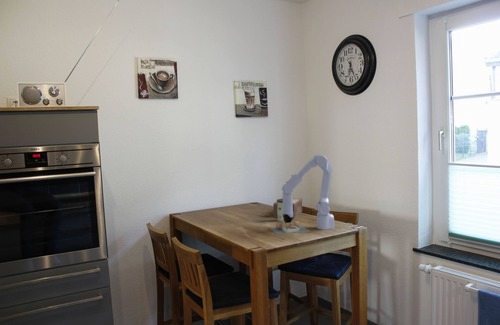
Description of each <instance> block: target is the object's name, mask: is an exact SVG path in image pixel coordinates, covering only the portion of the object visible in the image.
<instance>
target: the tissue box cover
mask: <svg viewBox="0 0 500 325" xmlns="http://www.w3.org/2000/svg"><path fill="white" fill-rule="evenodd" d="M281 199H283V197H282V198H281ZM292 200H293V220H294V219H296V218H297V217H298V216H299V215H300V214H301V213H303V197H300V198H299V197H292ZM272 207H273V218H275V219H278V218H277V201H275V202H273V206H272Z"/></svg>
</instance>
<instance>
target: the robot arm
mask: <svg viewBox="0 0 500 325" xmlns="http://www.w3.org/2000/svg"><path fill="white" fill-rule="evenodd" d="M317 166H319V168H320V169H321V170H322V180H321V187H320V188H321V189H320V196H319V199H318V203H317V204H316V209H317V213H316V224H317V225H316V227H317V229H318V230H331V229H333V230H334V229H335V218H334V217H335V216H334V215H333V213H330V211H331V208H330V202H329V201H330V200H329V197H330V189H331V183H332V181H331V180H332V175H333V174H332V172H333V167H332V165H331V163H330V161H329V159H328V158H327V157H326V156H325V155H324V154H319V153H317V154H315V155H314V156H313V157H311V158H310V159H309V160H308V162H307V163H306V164H305V165H304V166H303V167H302V169H300V171H298V172H297V173H294V174H292V175H291V177H290V178H289V179H288V180H286V181H285V183H284V184H283V185H282V188H281V191H282V198H283V212H281V213H283V214H285V215H283V218H284V220H285V221H284V224H285V225H286V223H288V222H292V221H293V220H294V219H293V200H292V198H293V191H294V189H296V188H297V187H298V185H299V184H301V182H302V181H303V177H304V176H305V175H306V174H307V173H308V172H309V171H310V170H311V169H312V168H315V167H317ZM292 219H293V220H292Z"/></svg>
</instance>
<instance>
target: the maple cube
mask: <svg viewBox="0 0 500 325" xmlns="http://www.w3.org/2000/svg"><path fill="white" fill-rule="evenodd" d="M285 227H286V230H288V229H294V223H292V221H291V222H288V223H286V224H285Z"/></svg>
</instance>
